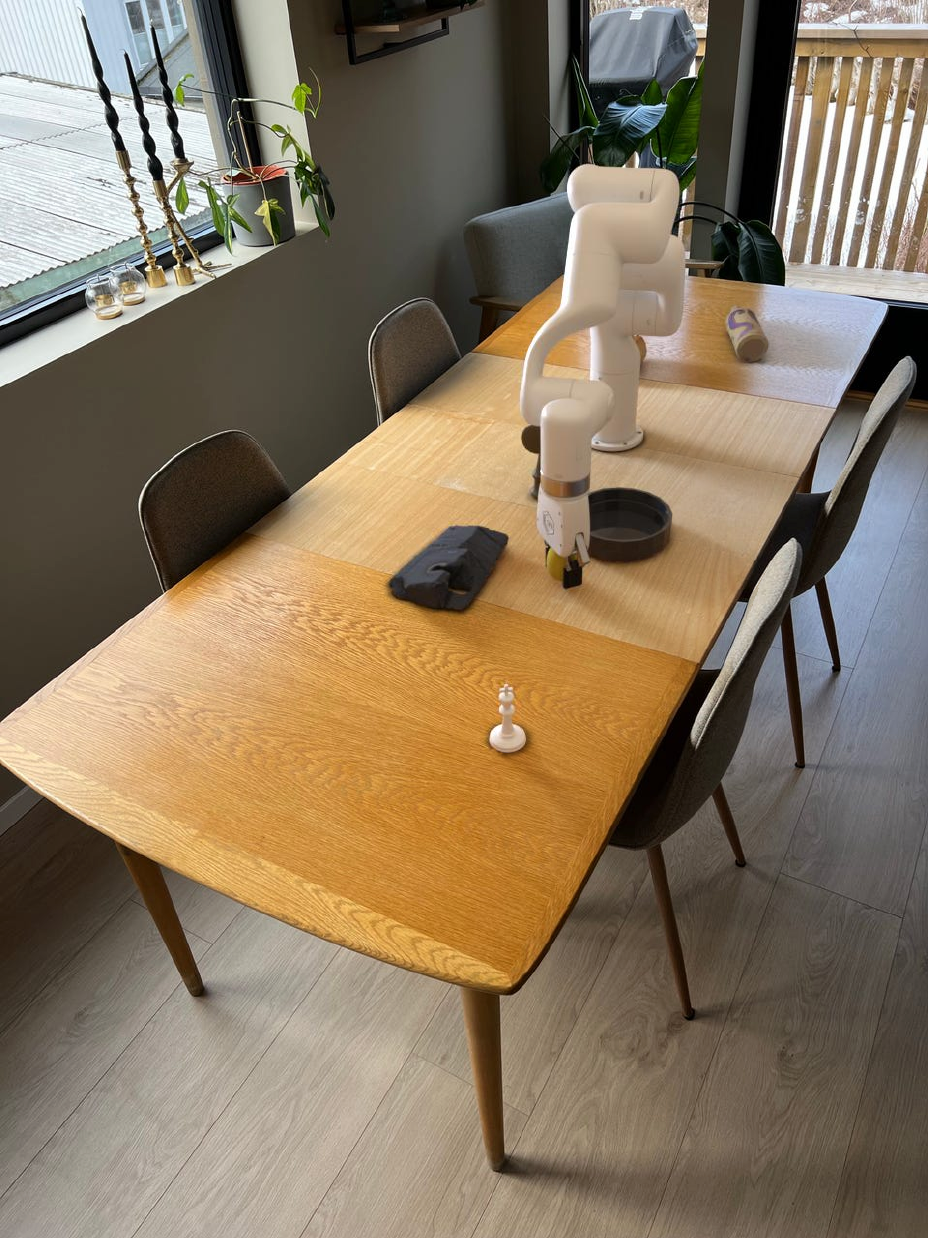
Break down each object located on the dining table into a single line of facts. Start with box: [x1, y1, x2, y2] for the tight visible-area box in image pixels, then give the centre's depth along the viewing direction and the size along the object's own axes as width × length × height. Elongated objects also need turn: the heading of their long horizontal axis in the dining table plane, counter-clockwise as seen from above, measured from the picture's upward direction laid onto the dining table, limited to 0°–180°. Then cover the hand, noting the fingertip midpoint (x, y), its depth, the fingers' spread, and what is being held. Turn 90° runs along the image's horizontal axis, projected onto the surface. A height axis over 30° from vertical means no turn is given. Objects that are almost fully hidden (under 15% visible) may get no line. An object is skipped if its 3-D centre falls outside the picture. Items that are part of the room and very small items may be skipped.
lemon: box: [546, 546, 577, 583], centre depth 157 cm, size 6×6×8 cm
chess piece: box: [489, 683, 527, 753], centre depth 129 cm, size 5×5×10 cm
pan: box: [587, 486, 673, 563], centre depth 168 cm, size 17×17×4 cm
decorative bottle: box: [724, 304, 770, 363], centre depth 229 cm, size 26×8×7 cm, turn 176°
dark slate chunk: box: [388, 524, 510, 611], centre depth 162 cm, size 15×22×5 cm
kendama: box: [520, 424, 541, 500], centre depth 175 cm, size 6×10×20 cm, turn 157°
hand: (563, 575), depth 159 cm, fingers closed on lemon, 5 cm apart
